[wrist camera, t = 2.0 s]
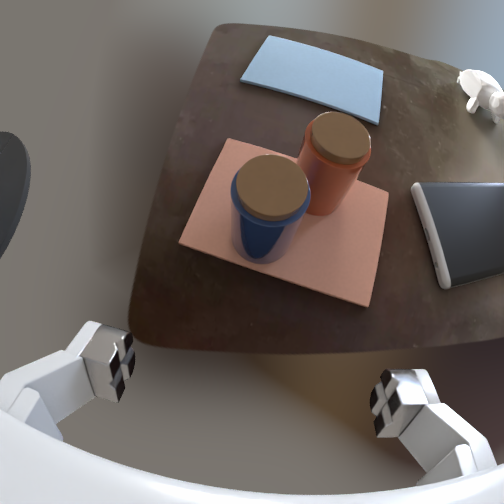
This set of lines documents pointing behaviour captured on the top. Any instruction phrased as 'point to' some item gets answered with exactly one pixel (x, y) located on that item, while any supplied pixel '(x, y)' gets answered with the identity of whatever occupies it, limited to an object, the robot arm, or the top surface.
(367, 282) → the clay mat
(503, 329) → the top surface
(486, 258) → the smartphone
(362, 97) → the blue mat
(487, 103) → the white sheep figurine
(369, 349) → the top surface
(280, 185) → the blue jar
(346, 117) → the terracotta jar
